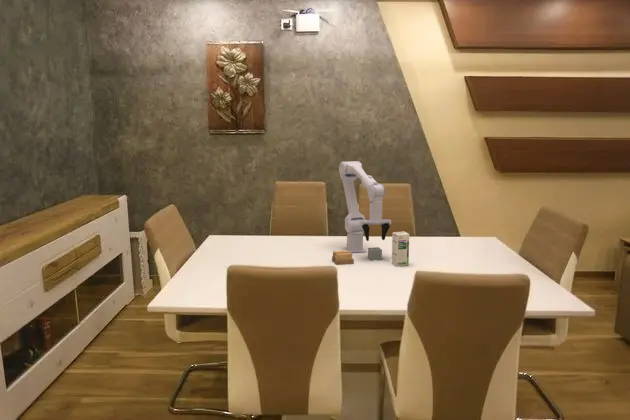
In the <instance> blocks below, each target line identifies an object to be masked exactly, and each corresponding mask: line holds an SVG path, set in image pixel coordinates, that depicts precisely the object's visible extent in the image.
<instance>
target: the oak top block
mask: <svg viewBox="0 0 630 420" xmlns="http://www.w3.org/2000/svg"><path fill="white" fill-rule="evenodd" d="M332 256H333V257H334V258H335V259H336V260H351V259H352V258H353V253H350V252H349V251H348V250H346V249H344V250H333V251H332Z"/></svg>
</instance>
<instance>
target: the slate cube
mask: <svg viewBox="0 0 630 420" xmlns="http://www.w3.org/2000/svg"><path fill="white" fill-rule="evenodd" d="M367 259H369V261H371V262H372V261H373V262H375V261H374V260H377V261H382V260H383V249H381V248H380V247H377V246H376V247H375V246H374V247H368V248H367Z"/></svg>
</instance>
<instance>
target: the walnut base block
mask: <svg viewBox="0 0 630 420" xmlns="http://www.w3.org/2000/svg"><path fill="white" fill-rule="evenodd" d="M331 261H332V263H334V264H335V265H336V266H343V265H354V264H355V259H354V258H353V257H352V259H351V260H336V259H335V258H334V257H333V255H332V256H331Z"/></svg>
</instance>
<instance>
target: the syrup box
mask: <svg viewBox="0 0 630 420" xmlns="http://www.w3.org/2000/svg"><path fill="white" fill-rule="evenodd" d="M391 235H392V237H391V238H392V241H391V243H392V244H391V264H393V265H394V266H395V267H403V266H404V267H405V266H409V259H410V258H409V257H410V256H409V254H410V233H409V232H406V231H394V232H392V234H391Z"/></svg>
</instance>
